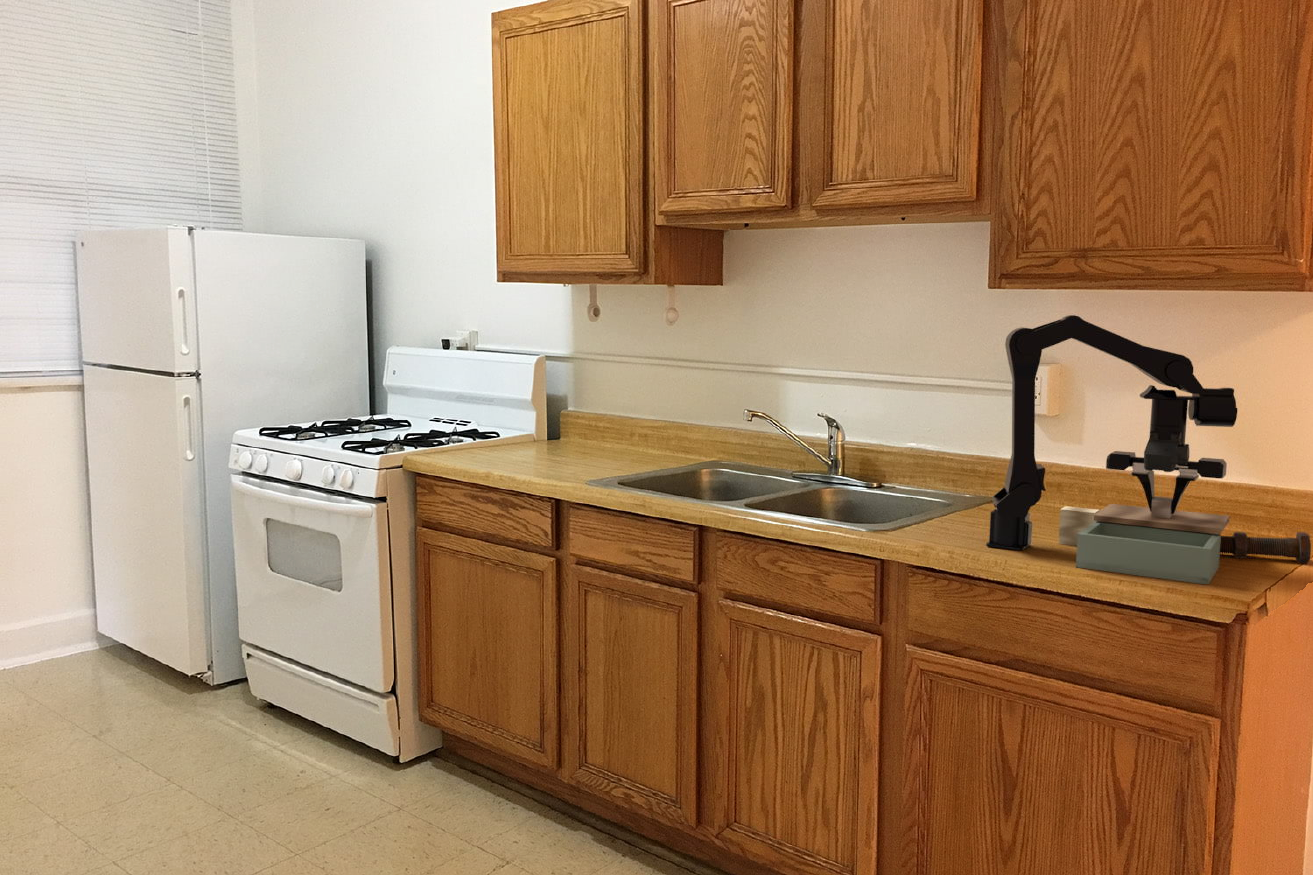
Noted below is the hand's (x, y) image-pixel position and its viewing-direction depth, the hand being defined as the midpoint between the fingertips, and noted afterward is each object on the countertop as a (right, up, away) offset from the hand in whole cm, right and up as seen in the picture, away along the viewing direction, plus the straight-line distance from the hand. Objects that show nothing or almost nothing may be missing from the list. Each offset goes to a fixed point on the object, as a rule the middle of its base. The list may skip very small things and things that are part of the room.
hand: (1162, 512), depth 192 cm
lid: (0, -1, 0) cm, 2 cm away
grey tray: (-5, -8, -7) cm, 12 cm away
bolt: (+16, -8, -1) cm, 18 cm away
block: (-11, -6, +9) cm, 16 cm away
